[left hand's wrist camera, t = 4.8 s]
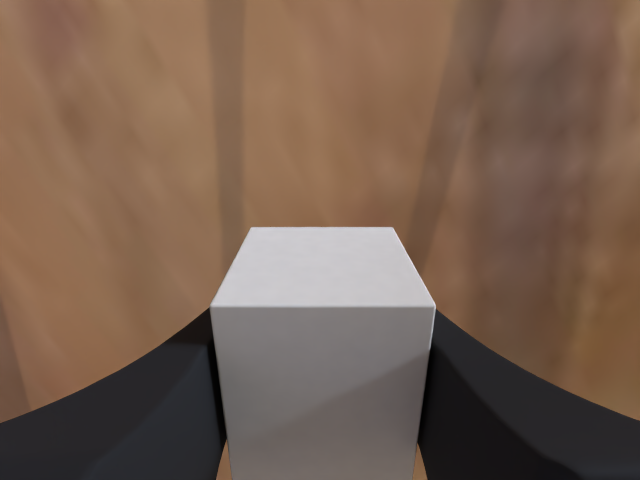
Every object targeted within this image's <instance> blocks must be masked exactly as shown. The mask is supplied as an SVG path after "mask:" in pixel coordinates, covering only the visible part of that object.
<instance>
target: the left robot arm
mask: <svg viewBox="0 0 640 480" xmlns="http://www.w3.org/2000/svg"><path fill="white" fill-rule="evenodd" d="M226 439H227V436H226V428H225V421H224V413H223V406H222V398H221V390H220V383H219V375H218V367H217V360H216V352H215V344H214V337H213V329H212V322H211V314H210V307H209V308H208V309H207V310H206V311H204V312H203V313H202V314H201V315H199V316H198V317H197V318H196V319H194V320H193V321H192V322H191V323H189V324H188V325H187V326H186V327H184V328H183V329H182V330H180V331H179V332H177V333H176V334H175V335H173V336H172V337H171V338H169V339H168V340H167V341H165V342H164V343H162V344H161V345H160V346H158V347H157V348H155V349H154V350H152V351H151V352H149V353H147V354H146V355H144V356H143V357H141V358H139V359H138V360H136V361H134V362H133V363H131V364H129V365H128V366H126V367H124V368H122V369H121V370H119V371H117V372H115V373H113V374H111V375H109V376H107V377H105V378H103V379H101V380H99V381H98V382H96V383H94V384H92V385H90V386H88V387H86V388H84V389H82V390H80V391H78V392H75V393H73V394H71V395H69V396H67V397H64V398H62V399H60V400H58V401H55V402H53V403H51V404H48V405H46V406H44V407H41V408H39V409H36V410H34V411H32V412H29V413H26V414H24V415H21V416H19V417H16V418H14V419H11V420H8V421H5V422H3V423H0V480H216V477H217V472H218V467H219V463H220V460H221V456H222V452H223V449H224V445H225V442H226ZM417 442H418V445H419V448H420V451H421V455H422V459H423V462H424V466H425V470H426V475H427V479H428V480H640V421H638V420H636V419H633V418H630V417H627V416H625V415H622V414H620V413H617V412H615V411H612V410H610V409H607V408H605V407H602V406H600V405H598V404H595V403H593V402H590V401H588V400H586V399H583V398H581V397H579V396H577V395H574V394H572V393H570V392H568V391H566V390H563V389H561V388H559V387H557V386H555V385H553V384H551V383H549V382H547V381H545V380H543V379H541V378H539V377H537V376H535V375H533V374H531V373H530V372H528V371H526V370H524V369H522V368H521V367H519V366H517V365H515V364H514V363H512V362H510V361H509V360H507V359H505V358H503V357H502V356H500V355H498V354H497V353H495V352H494V351H492V350H491V349H489V348H488V347H486V346H485V345H483V344H482V343H480V342H479V341H477V340H476V339H474V338H473V337H471V336H470V335H469V334H467V333H466V332H465V331H463V330H462V329H461V328H459V327H458V326H457V325H455V324H454V323H453V322H452V321H450V320H449V319H448V318H446V317H445V316H444V315H443V314H441V313H440V312H439V311H438V310H437V309H436V310H435V317H434V324H433V332H432V339H431V346H430V354H429V361H428V368H427V376H426V383H425V390H424V397H423V405H422V412H421V419H420V427H419V434H418V441H417Z"/></svg>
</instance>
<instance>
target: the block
mask: <svg viewBox="0 0 640 480" xmlns="http://www.w3.org/2000/svg"><path fill="white" fill-rule="evenodd" d="M435 310H436V305H435V303H434V301H433V299H432V297H431V296H430V294H429V292H428V290H427V288H426V287H425V285H424V283H423V281H422V279H421V277H420V276H419V274H418V272H417V270H416V268H415V267H414V265H413V263H412V261H411V259H410V258H409V256H408V254H407V252H406V250H405V249H404V247H403V245H402V243H401V241H400V240H399V238H398V236H397V234H396V232H395V231H394V229H393V228H392V227H251V228H250V230H249V232H248V234H247V236H246V237H245V239H244V241H243V243H242V245H241V247H240V249H239V251H238V253H237V254H236V256H235V258H234V260H233V262H232V264H231V266H230V268H229V270H228V271H227V273H226V275H225V277H224V279H223V281H222V283H221V285H220V287H219V289H218V290H217V292H216V294H215V296H214V298H213V300H212V302H211V304H210V314H211V322H212V329H213V337H214V344H215V352H216V360H217V367H218V375H219V383H220V390H221V398H222V406H223V413H224V421H225V428H226V436H227V444H228V451H229V459H230V467H231V474H232V480H412V478H413V470H414V463H415V456H416V449H417V441H418V434H419V427H420V419H421V412H422V405H423V397H424V390H425V383H426V376H427V368H428V361H429V354H430V346H431V339H432V332H433V324H434V317H435Z"/></svg>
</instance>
